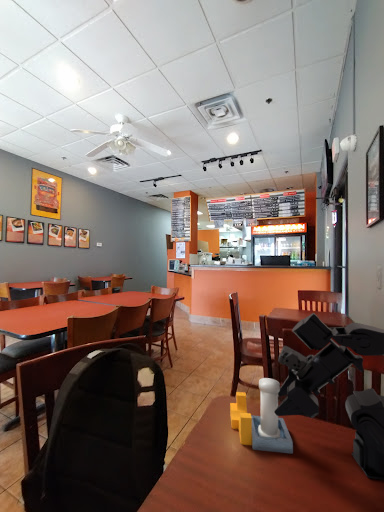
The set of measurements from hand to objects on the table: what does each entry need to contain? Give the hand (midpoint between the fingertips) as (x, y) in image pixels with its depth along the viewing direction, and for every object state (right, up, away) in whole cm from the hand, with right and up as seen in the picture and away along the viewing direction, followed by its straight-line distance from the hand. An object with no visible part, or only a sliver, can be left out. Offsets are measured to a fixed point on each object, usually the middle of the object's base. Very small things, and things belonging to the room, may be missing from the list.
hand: (277, 403), depth 59 cm
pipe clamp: (-8, -9, +4) cm, 13 cm away
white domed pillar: (-2, -8, 0) cm, 9 cm away
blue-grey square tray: (-2, -9, 0) cm, 9 cm away
